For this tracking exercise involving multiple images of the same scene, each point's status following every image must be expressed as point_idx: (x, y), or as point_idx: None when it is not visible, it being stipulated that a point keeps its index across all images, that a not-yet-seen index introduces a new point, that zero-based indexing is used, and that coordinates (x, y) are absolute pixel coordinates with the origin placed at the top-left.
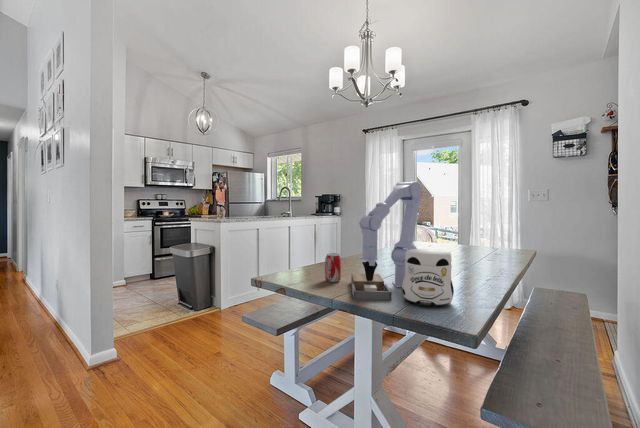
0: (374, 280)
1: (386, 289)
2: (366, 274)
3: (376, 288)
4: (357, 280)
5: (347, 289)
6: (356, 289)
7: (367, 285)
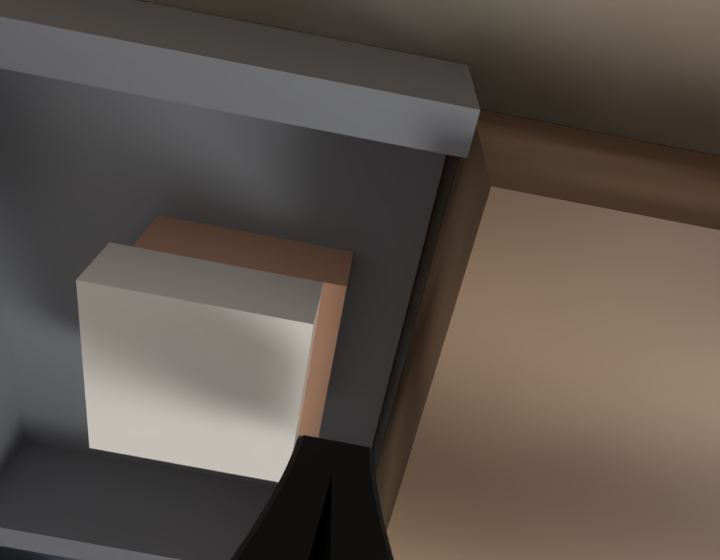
0: (455, 552)
1: (167, 532)
2: (241, 547)
3: (93, 436)
4: (537, 289)
5: (637, 10)
6: (458, 171)
7: (257, 370)
